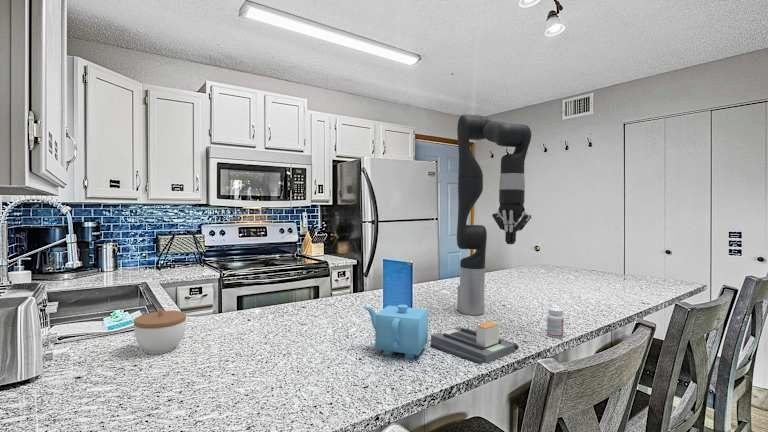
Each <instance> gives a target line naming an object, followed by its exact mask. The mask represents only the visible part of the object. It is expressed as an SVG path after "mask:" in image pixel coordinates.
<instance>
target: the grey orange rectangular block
mask: <svg viewBox="0 0 768 432" xmlns="http://www.w3.org/2000/svg"><path fill="white" fill-rule="evenodd" d="M499 329H500V323H497V322H494V321H488V322H487V321H486V322H483V323H479V324H476V331H477V338H476V344H478V345H480V346H483V347H488V346H491V345H493V344H496V343H498V339H500V338H499V335H500V334H499Z"/></svg>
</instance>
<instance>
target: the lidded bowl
mask: <svg viewBox="0 0 768 432" xmlns="http://www.w3.org/2000/svg"><path fill="white" fill-rule="evenodd" d="M186 319H187V314H186V313H185V312H184V311H180V310H164V309H163V308H162V309H158V310H157V311H151V312H148V313H143V314H141V315H139V316H137V317H135V318H134V320H133V326H134V337H135V341H136V342H137V344H138V346H139V347H140V348H141V349H142V350H144V351H145V353H147V354H150V355H158V354H159V355H160V354H165V353H169V352H172V351H173V350H175V349H176V346H178V345H179V343H181V341H182V339H183V338H184V336H185V335H184V334H185V331H186V323H187V322H186Z"/></svg>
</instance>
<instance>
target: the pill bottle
mask: <svg viewBox="0 0 768 432" xmlns="http://www.w3.org/2000/svg"><path fill="white" fill-rule="evenodd" d="M563 313H564V312H563V309H562V308H557V307H550V308H548V314H547V315H546V316H547V317H546V318H547V320H546V321H547V323H546V335H547V336H549V337H551V338H556V339H561V338H563V337H564V323H565V322H564V320H565V318H564V316H563Z"/></svg>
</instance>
